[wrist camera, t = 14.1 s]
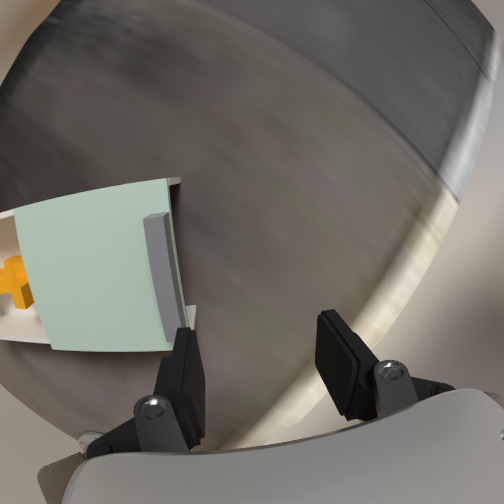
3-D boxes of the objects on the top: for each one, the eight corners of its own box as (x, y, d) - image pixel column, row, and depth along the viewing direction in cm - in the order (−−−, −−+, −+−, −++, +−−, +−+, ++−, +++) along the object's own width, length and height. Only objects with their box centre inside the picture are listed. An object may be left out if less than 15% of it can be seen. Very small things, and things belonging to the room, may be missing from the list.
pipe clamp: (45, 255, 27) (16, 272, 21) (51, 287, 28) (26, 309, 22) (-10, 256, 26) (-37, 270, 19) (-3, 284, 27) (-28, 301, 21)
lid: (192, 344, 25) (190, 365, 22) (55, 345, 23) (42, 362, 20) (168, 178, 21) (159, 178, 18) (17, 207, 19) (-3, 213, 16)
